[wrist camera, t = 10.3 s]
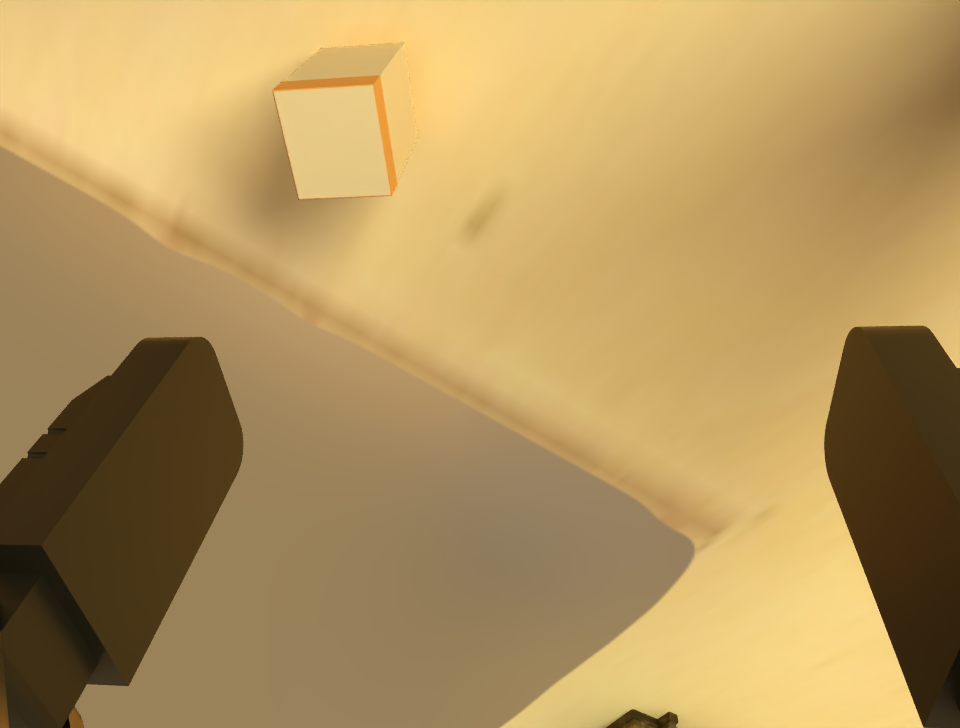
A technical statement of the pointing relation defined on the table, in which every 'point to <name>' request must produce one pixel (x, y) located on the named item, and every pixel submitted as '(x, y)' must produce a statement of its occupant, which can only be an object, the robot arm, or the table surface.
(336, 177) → the orange-striped cream block
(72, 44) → the table surface
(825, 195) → the table surface
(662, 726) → the miniature house
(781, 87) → the table surface
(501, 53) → the table surface
